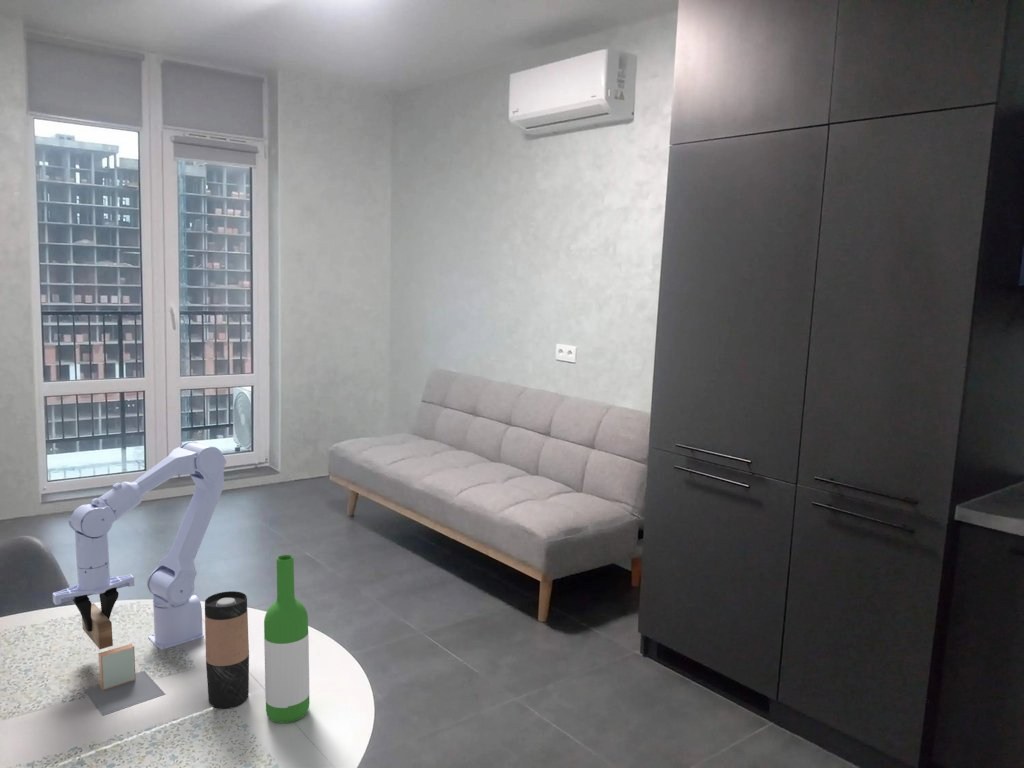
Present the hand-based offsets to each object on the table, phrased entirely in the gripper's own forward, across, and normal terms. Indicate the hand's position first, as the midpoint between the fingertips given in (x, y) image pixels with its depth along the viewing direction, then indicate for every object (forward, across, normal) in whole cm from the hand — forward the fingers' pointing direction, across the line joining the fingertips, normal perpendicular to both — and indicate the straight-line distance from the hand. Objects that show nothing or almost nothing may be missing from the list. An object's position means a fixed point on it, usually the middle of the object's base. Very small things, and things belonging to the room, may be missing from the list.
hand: (97, 627), depth 154 cm
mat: (+8, 0, -15) cm, 17 cm away
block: (+8, 0, -11) cm, 13 cm away
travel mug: (+9, +14, -30) cm, 34 cm away
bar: (+2, 0, 0) cm, 2 cm away
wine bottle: (+9, +20, -42) cm, 47 cm away
